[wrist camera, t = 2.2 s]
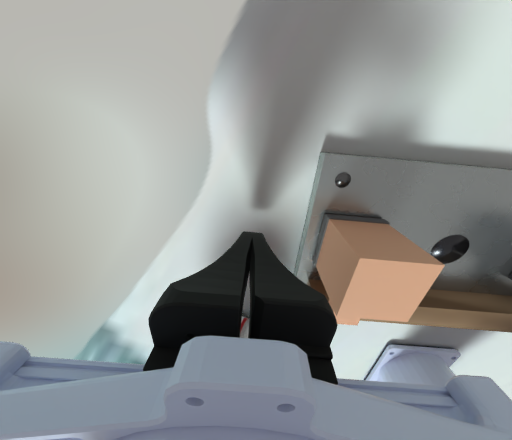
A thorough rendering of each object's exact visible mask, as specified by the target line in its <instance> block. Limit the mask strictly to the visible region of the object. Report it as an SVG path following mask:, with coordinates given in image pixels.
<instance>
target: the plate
mask: <svg viewBox="0 0 512 440" xmlns="http://www.w3.org/2000/svg"><path fill="white" fill-rule="evenodd" d="M325 214H331V215H342V216H354V217H365V218H377V219H385V220H387V221H388V222H389V223H390V224H389V225H390V226H391V227H393V228H394V229H395V230H397V231H398V232H400V233H401V234H402V235H404V236H405V237H406V238H408V239H409V240H411V241H412V242H413V243H415V244H416V245H418V246H419V247H420V248H422V249H423V250H424V251H426V252H427V253H429V254H430V255H431V256H433V257H434V258H436V259H437V260H438V261H440V262H441V263H442V264H444V265H445V266H444V268H443V269H442V271H441V272H440V274H439V275H438V277H437V278H436V280H435V281H434V283H433V284H432V286H431V287H430V289H435V290H447V291H459V292H472V293H484V294H496V295H508V296H512V280H510V279H509V278H508V276H509V275H510V274H511V273H512V170H511V169H500V168H489V167H478V166H467V165H456V164H445V163H434V162H423V161H412V160H402V159H391V158H380V157H369V156H358V155H347V154H336V153H325V152H321V153H320V158H319V162H318V167H317V171H316V176H315V180H314V185H313V189H312V194H311V198H310V203H309V207H308V212H307V216H306V221H305V225H304V230H303V234H302V239H301V243H300V248H299V252H298V257H297V261H296V266H295V270H294V275H295V276H296V277H297V278H298V279H300V280H301V281H302V282H304V283H305V284H307V282H308V279H313V280H321V278H320V275H319V273H318V270H317V268H316V267H314V265H313V263H312V261H313V258H314V254H315V250H316V247H317V243H318V239H319V235H320V232H321V228H322V224H323V221H324V217H325Z"/></svg>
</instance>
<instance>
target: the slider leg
mask: <svg viewBox="0 0 512 440" xmlns="http://www.w3.org/2000/svg"><path fill="white" fill-rule="evenodd" d="M389 224H390V223H389V222H388V221H387V220H385V219H377V218H365V217H354V216H342V215H331V214H325V217H324V221H323V224H322V228H321V232H320V235H319V239H318V243H317V247H316V250H315V254H314V258H313V261H312V263H313V265H314V267H316V268H317V270H318V273H319V275H320V278H321V280H322V282H323V285H324V287H325V290H326V292H327V295H328V297H329V304H330V306H331V308H332V310H333V312H334V315H335V317H336V320H337V324H347V325H358V323H359V321H360V319H374V320H386V321H399V322H408V321H409V319H410V318H411V316H412V315H413V313H414V312H415V310H416V309H417V307H418V305H419V304H420V302H421V301H422V299H423V298H424V296H425V295H426V293H427V292H428V290H429V289H430V287H431V286H432V284H433V283H434V281H435V280H436V278H437V277H438V275H439V274H440V272H441V271H442V269H443V268H444V266H445V265H444V264H442V263H441V262H440V261H438V260H437V259H436V258H434V257H433V256H431V255H430V254H429V253H427V252H426V251H424V250H423V249H422V248H420V247H419V246H418V245H416V244H415V243H413V242H412V241H411V240H409V239H408V238H406V237H405V236H404V235H402V234H401V233H400V232H398V231H397V230H395V229H394V228H393V227H391V226H390V225H389Z"/></svg>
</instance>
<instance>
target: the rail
mask: <svg viewBox="0 0 512 440" xmlns="http://www.w3.org/2000/svg"><path fill="white" fill-rule="evenodd" d="M307 285H308V286H310V287H311V288H313V289H315V290H316V291H318V292H320V293H322V294H323V295H325V297H326V299H327V300H328V302H329V297H328V295H327V292H326V290H325V287H324V285H323V282H322V280H313V279H308V282H307ZM360 320H362V321H374V322H387V323H400V324H412V325H425V326H438V327H450V328H463V329H476V330H488V331H501V332H512V296H508V295H496V294H484V293H472V292H459V291H447V290H435V289H429V290H428V292H427V293H426V295H425V296H424V298H423V299H422V301H421V302H420V304H419V305H418V307H417V309H416V310H415V312H414V313H413V315H412V316H411V318H410V319H409V321H408V322H399V321H386V320H374V319H360Z"/></svg>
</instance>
